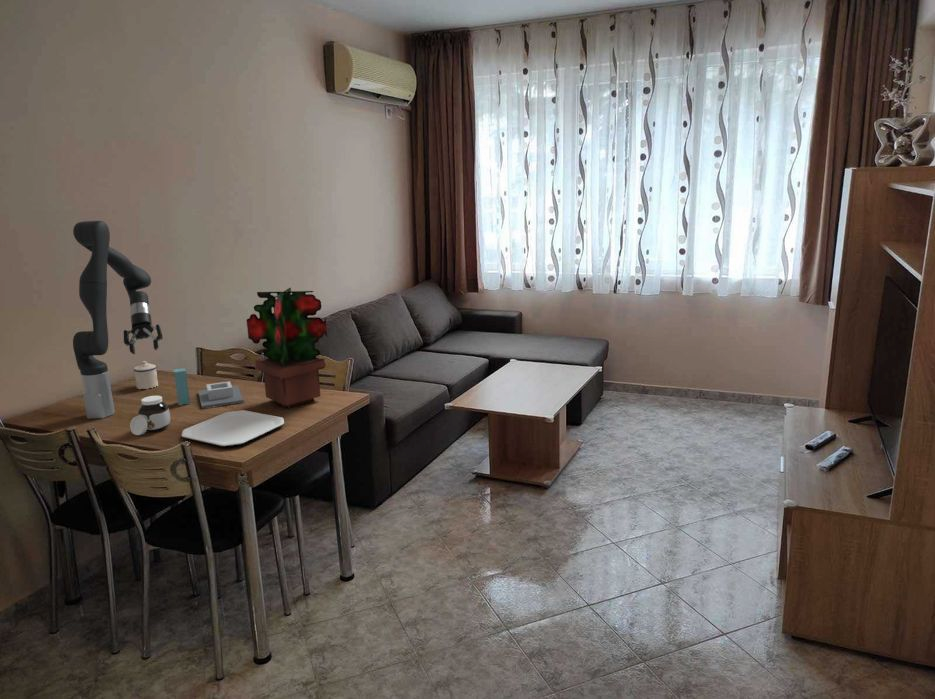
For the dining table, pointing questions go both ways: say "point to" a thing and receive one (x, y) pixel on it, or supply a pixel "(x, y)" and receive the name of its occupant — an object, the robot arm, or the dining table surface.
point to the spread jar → (151, 416)
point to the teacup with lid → (145, 375)
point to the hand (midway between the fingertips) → (144, 351)
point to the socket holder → (220, 395)
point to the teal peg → (182, 386)
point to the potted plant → (289, 345)
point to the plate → (233, 428)
